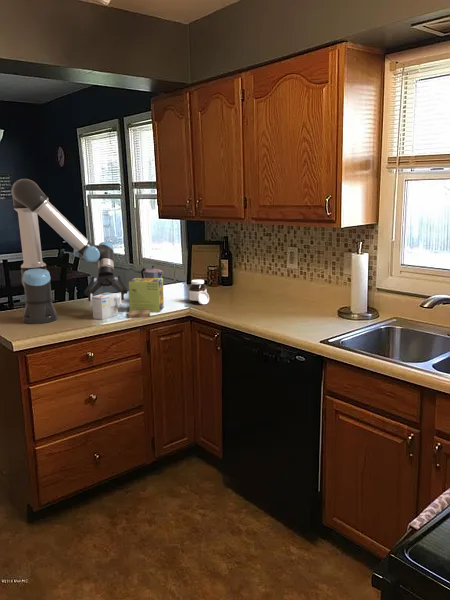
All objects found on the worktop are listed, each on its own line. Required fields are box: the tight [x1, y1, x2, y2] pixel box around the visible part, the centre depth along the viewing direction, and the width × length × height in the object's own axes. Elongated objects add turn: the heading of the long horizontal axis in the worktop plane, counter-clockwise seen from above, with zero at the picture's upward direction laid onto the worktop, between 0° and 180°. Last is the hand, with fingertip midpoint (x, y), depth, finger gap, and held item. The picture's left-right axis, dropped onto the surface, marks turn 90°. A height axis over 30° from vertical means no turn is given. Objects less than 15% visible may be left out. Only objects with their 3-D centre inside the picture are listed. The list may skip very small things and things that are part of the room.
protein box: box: [128, 277, 165, 313], centre depth 264 cm, size 10×15×16 cm
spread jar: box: [188, 279, 210, 305], centre depth 279 cm, size 12×11×12 cm
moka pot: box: [140, 265, 164, 278], centre depth 280 cm, size 10×15×20 cm, turn 60°
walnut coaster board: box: [128, 310, 151, 319], centre depth 254 cm, size 10×8×2 cm
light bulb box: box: [92, 292, 119, 321], centre depth 252 cm, size 11×7×11 cm, turn 148°
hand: (106, 305), depth 251 cm, fingers open, 13 cm apart
